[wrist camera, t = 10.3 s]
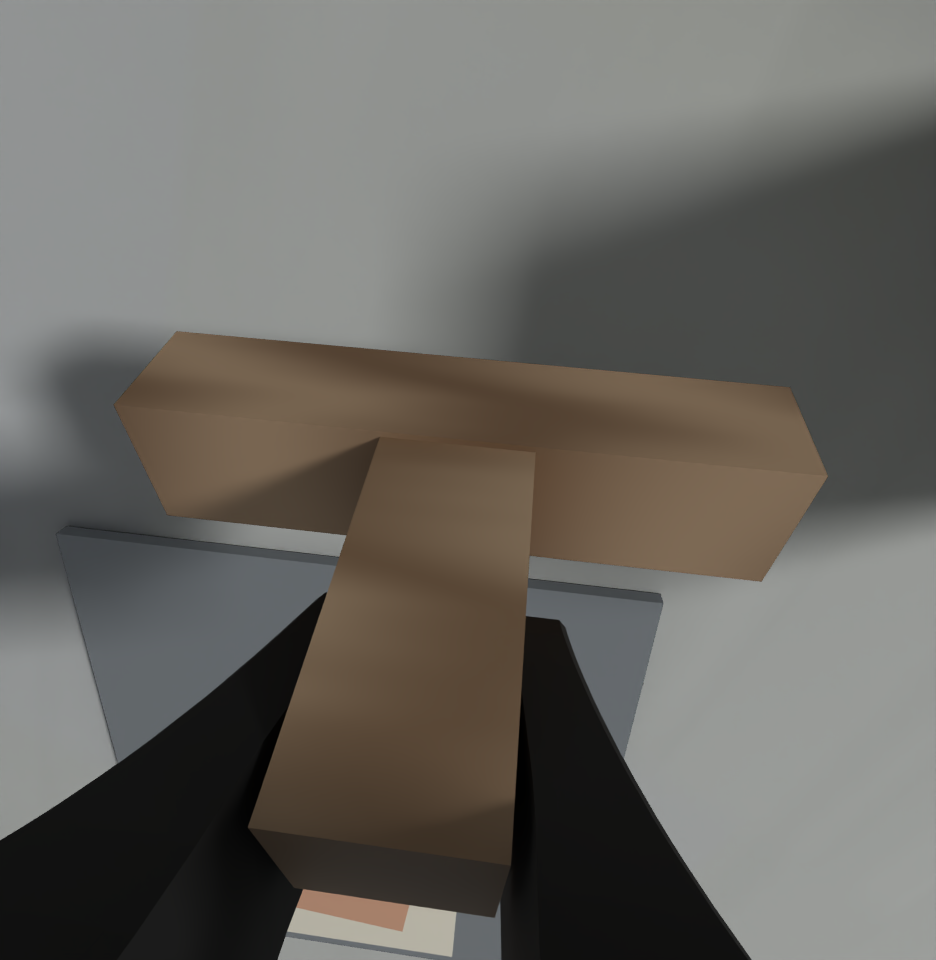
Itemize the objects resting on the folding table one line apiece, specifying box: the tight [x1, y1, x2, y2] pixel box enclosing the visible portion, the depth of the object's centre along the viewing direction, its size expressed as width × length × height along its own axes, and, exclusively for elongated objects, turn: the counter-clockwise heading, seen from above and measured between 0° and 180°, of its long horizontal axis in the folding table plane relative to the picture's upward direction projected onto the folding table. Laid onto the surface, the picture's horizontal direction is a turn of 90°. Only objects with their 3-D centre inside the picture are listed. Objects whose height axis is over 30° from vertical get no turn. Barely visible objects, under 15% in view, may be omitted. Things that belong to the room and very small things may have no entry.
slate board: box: [56, 526, 663, 960], centre depth 25 cm, size 20×22×1 cm
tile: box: [296, 889, 409, 932], centre depth 25 cm, size 6×6×2 cm
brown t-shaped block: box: [114, 331, 828, 918], centre depth 8 cm, size 10×2×7 cm, turn 86°
